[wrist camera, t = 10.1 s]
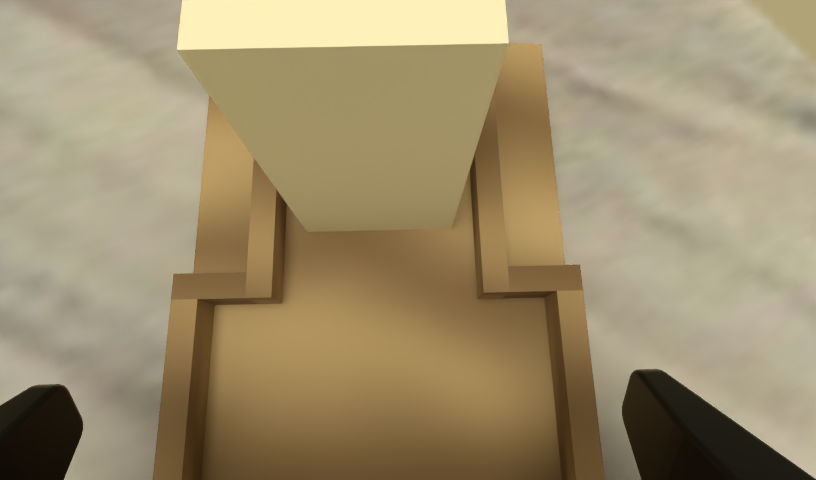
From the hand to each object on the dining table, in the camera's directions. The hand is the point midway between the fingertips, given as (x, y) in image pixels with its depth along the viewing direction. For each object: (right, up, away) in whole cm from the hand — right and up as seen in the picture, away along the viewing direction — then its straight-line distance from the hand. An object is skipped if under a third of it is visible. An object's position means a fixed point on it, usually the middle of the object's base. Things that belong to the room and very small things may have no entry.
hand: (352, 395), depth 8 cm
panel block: (0, +5, +10) cm, 11 cm away
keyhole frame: (0, +1, +9) cm, 9 cm away
